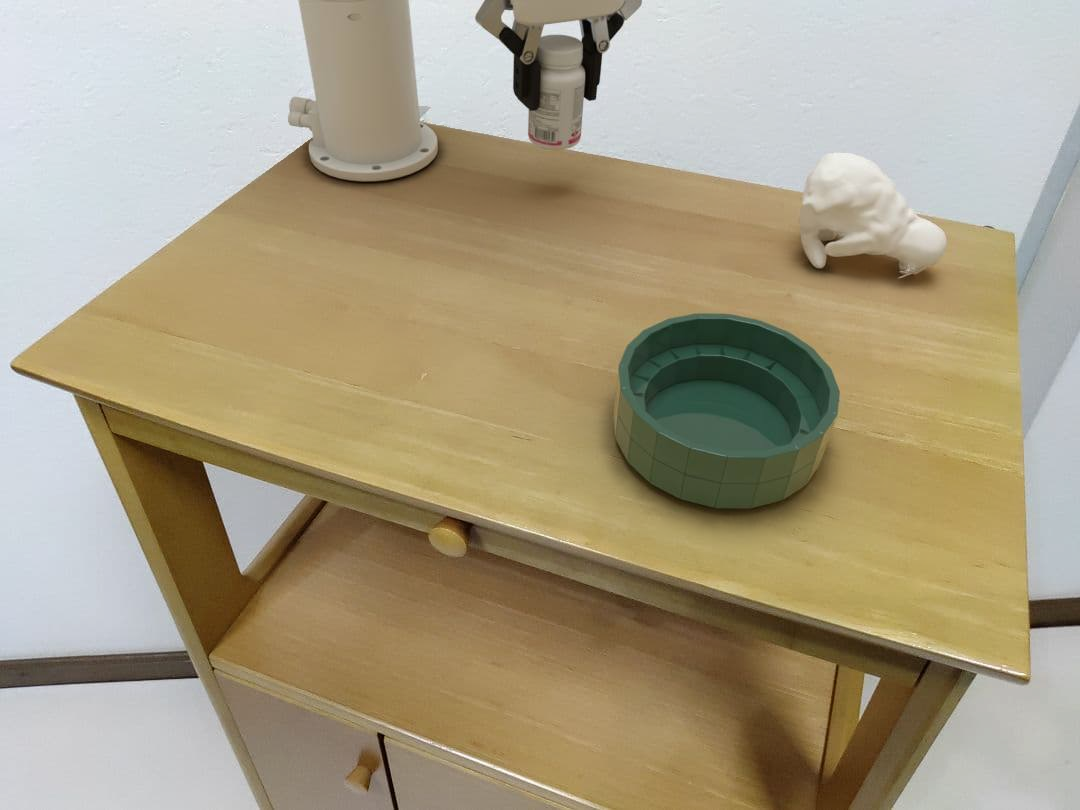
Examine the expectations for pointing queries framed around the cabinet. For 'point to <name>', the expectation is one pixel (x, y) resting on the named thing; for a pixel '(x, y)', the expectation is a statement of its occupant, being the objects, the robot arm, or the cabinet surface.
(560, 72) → the pill bottle
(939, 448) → the cabinet surface
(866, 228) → the white irregular piece
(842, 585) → the cabinet surface
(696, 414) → the bowl
